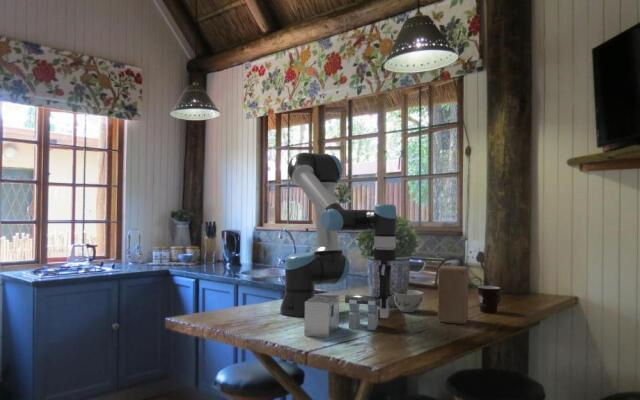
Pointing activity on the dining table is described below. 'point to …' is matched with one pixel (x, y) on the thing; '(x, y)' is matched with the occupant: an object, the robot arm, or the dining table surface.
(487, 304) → the coffee mug
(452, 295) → the wooden block
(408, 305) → the teacup
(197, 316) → the dining table surface
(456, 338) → the dining table surface
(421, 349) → the dining table surface
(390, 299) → the axle
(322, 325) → the grey box
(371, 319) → the v stand
